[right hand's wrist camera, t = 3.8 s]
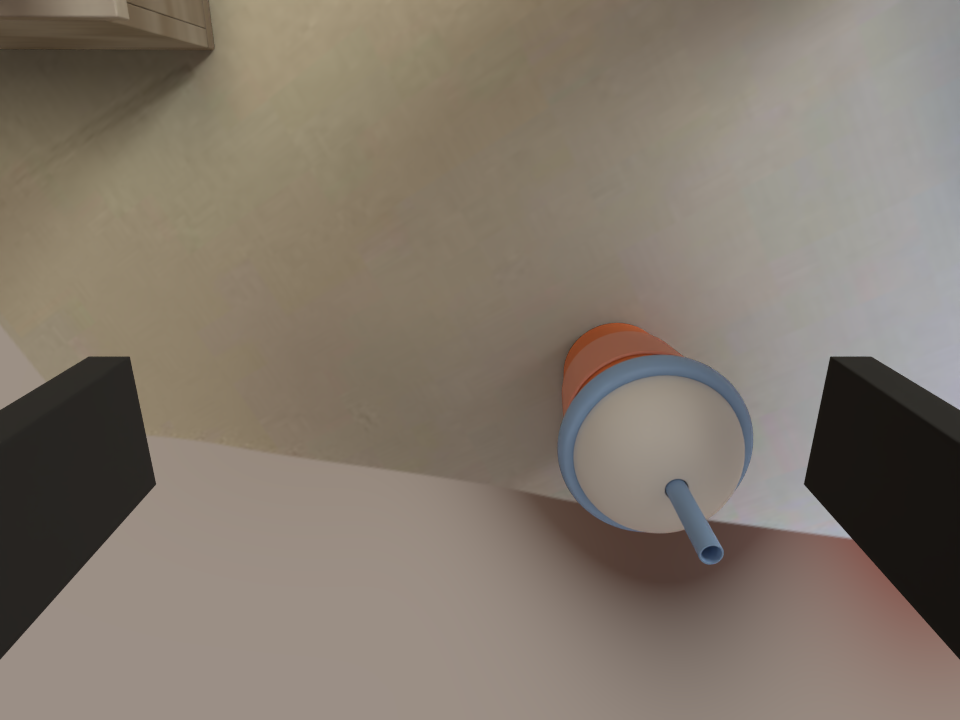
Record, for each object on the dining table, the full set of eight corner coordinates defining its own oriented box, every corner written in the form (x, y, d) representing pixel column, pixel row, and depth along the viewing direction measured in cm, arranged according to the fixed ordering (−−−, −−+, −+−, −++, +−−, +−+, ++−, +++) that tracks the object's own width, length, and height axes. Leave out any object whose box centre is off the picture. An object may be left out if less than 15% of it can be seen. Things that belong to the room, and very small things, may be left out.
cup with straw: (550, 445, 41) (599, 668, 24) (528, 312, 38) (567, 464, 21) (691, 422, 41) (840, 635, 24) (681, 285, 38) (844, 420, 21)
